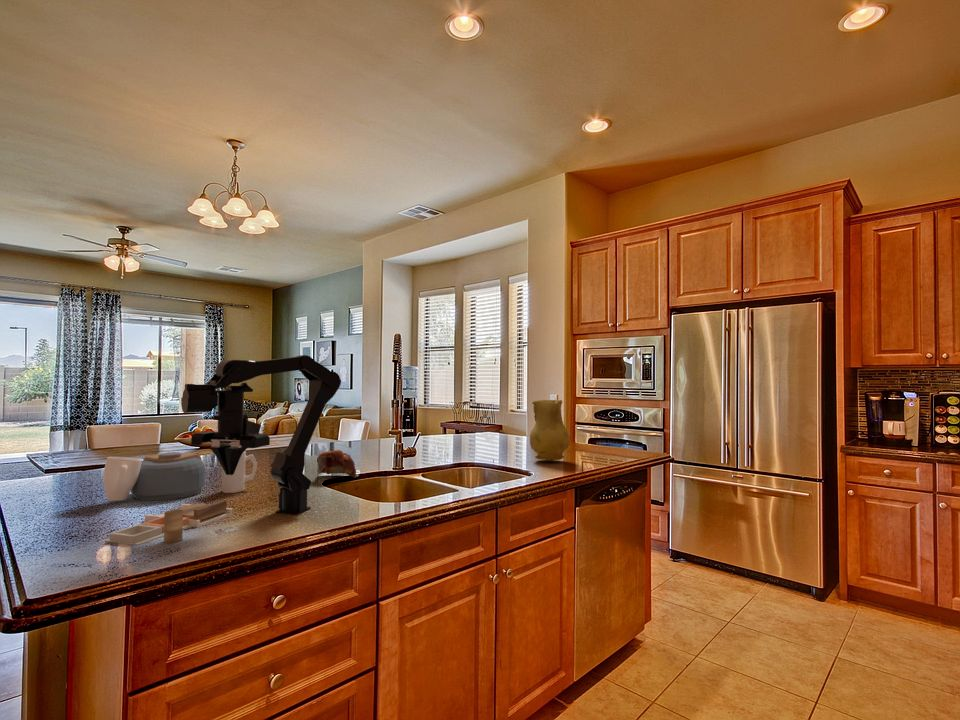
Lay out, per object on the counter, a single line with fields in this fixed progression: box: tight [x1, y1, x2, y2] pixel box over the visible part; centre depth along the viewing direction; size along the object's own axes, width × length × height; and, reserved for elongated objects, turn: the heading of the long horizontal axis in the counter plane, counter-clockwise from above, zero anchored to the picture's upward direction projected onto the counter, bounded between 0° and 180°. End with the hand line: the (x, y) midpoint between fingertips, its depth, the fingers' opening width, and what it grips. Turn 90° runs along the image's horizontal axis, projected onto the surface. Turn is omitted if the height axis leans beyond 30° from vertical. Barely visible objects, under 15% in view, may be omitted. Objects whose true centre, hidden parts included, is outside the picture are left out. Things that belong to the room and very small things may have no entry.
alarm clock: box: [130, 451, 206, 501], centre depth 153 cm, size 19×20×12 cm
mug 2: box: [221, 450, 258, 494], centre depth 157 cm, size 10×7×12 cm, turn 119°
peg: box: [163, 508, 183, 544], centre depth 109 cm, size 3×3×7 cm
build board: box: [104, 516, 194, 546], centre depth 113 cm, size 9×14×2 cm, turn 164°
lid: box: [175, 499, 228, 520], centre depth 125 cm, size 10×9×3 cm
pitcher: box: [529, 399, 570, 461], centre depth 219 cm, size 17×19×25 cm
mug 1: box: [102, 456, 143, 502], centre depth 140 cm, size 12×8×11 cm
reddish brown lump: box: [316, 449, 360, 478], centre depth 177 cm, size 16×13×10 cm
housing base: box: [144, 503, 234, 528], centre depth 126 cm, size 16×11×2 cm
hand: (230, 474), depth 123 cm, fingers closed
